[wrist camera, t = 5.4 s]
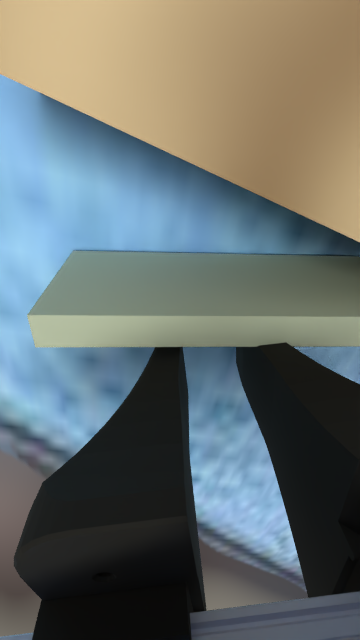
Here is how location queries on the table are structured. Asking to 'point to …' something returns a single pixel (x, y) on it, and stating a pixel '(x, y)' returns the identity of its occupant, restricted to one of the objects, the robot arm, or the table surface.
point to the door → (199, 301)
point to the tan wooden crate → (211, 86)
